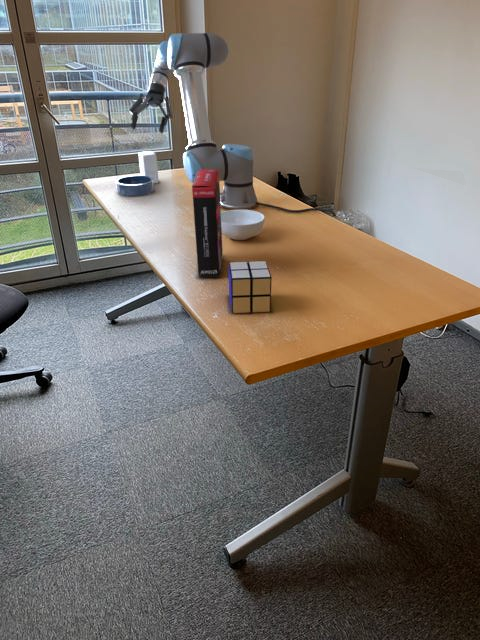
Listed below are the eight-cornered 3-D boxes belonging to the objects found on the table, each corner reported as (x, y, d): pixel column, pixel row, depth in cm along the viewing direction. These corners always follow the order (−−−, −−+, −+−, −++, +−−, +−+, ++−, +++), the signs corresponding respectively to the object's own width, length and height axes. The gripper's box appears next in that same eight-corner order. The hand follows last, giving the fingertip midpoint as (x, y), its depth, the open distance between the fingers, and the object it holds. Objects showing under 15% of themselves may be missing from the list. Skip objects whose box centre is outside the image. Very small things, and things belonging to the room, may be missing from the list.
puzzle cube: (229, 295, 137) (228, 262, 131) (265, 294, 137) (266, 260, 132) (231, 314, 128) (231, 278, 123) (270, 312, 129) (271, 277, 124)
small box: (159, 183, 233) (156, 154, 226) (145, 184, 231) (142, 155, 224) (153, 178, 239) (151, 150, 233) (140, 180, 237) (137, 151, 230)
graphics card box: (220, 279, 145) (217, 185, 132) (196, 279, 146) (191, 185, 132) (222, 255, 160) (220, 168, 146) (201, 255, 160) (196, 168, 146)
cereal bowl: (271, 231, 178) (272, 212, 175) (252, 248, 165) (253, 227, 162) (228, 225, 184) (228, 206, 181) (207, 240, 171) (206, 220, 168)
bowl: (159, 188, 226) (158, 176, 223) (143, 198, 213) (142, 186, 210) (128, 185, 230) (126, 174, 228) (110, 195, 217) (109, 183, 215)
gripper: (185, 94, 231) (175, 137, 229) (135, 88, 236) (124, 130, 234) (181, 84, 224) (170, 129, 222) (129, 78, 229) (118, 122, 226)
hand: (146, 130), depth 228 cm, fingers open, 13 cm apart
